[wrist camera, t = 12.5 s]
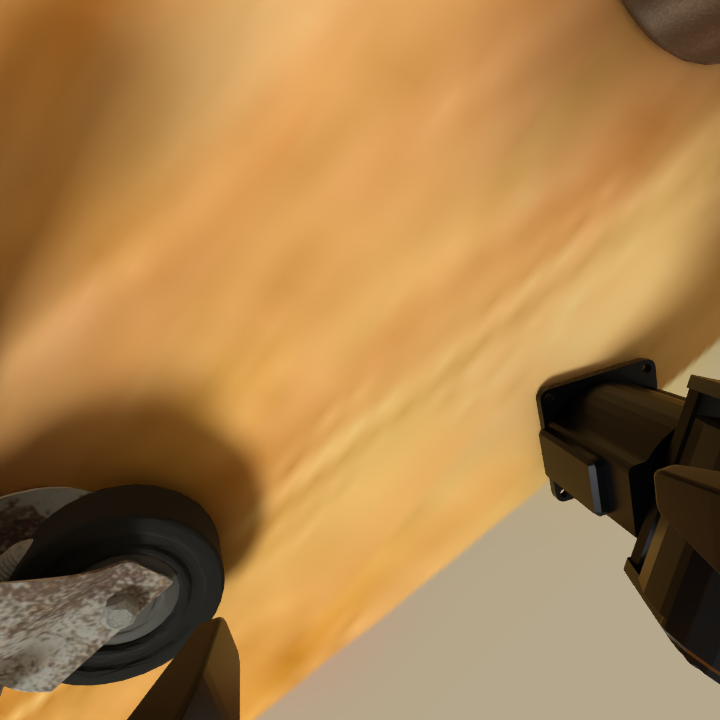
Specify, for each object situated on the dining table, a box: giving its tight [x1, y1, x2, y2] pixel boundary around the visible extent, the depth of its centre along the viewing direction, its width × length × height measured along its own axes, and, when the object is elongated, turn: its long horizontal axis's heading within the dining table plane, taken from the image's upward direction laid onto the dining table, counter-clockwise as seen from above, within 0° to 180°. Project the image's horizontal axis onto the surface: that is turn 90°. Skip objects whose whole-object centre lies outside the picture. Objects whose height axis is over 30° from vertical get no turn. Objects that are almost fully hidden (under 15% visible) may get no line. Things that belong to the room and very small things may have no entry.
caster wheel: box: [0, 485, 224, 695], centre depth 18 cm, size 7×11×10 cm
